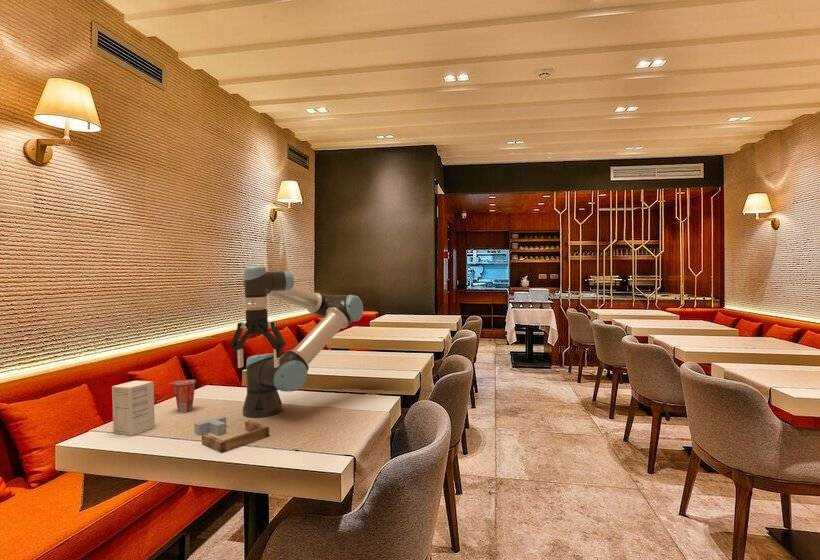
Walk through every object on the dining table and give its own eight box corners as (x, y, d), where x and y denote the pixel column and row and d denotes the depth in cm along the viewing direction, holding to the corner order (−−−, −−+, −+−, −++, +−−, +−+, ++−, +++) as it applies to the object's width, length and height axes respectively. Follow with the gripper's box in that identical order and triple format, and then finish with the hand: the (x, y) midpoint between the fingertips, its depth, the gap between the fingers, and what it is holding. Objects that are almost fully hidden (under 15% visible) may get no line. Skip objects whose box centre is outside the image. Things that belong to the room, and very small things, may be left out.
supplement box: (155, 427, 155) (154, 381, 155) (131, 436, 146) (130, 387, 146) (136, 424, 158) (135, 379, 158) (112, 433, 149) (111, 385, 149)
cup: (192, 406, 180) (192, 378, 180) (199, 410, 174) (199, 381, 174) (168, 411, 173) (167, 382, 173) (174, 416, 167) (174, 385, 167)
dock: (201, 444, 138) (201, 434, 138) (249, 428, 151) (249, 420, 151) (221, 452, 130) (221, 443, 130) (269, 435, 144) (269, 427, 144)
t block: (194, 433, 148) (194, 423, 148) (222, 425, 156) (221, 415, 156) (207, 438, 142) (207, 428, 142) (235, 430, 150) (235, 420, 150)
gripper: (218, 310, 151) (220, 369, 152) (285, 308, 149) (287, 368, 149) (229, 308, 159) (231, 364, 159) (293, 307, 156) (295, 364, 157)
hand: (258, 367), depth 154 cm, fingers open, 13 cm apart
